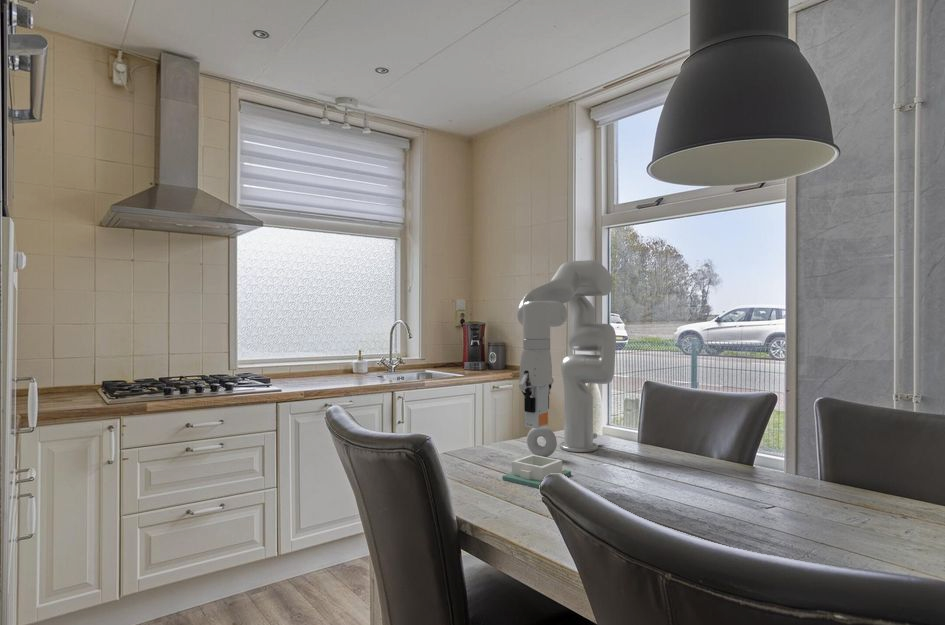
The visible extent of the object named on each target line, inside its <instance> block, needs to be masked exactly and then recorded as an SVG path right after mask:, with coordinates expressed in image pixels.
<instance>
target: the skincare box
mask: <svg viewBox="0 0 945 625" xmlns="http://www.w3.org/2000/svg"><path fill="white" fill-rule="evenodd" d="M528 386H531V384H528ZM529 390H530V392H531V389H529ZM533 398H535V412H534V413H532V412H525V411H524V427H525V428H530V429H532V428H537V429H538V428H540V427H544V426H545V427H547V426H549V409H548V385H538V386H537V387H535V393H534V397H533Z"/></svg>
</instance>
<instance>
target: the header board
mask: <svg viewBox="0 0 945 625" xmlns="http://www.w3.org/2000/svg"><path fill="white" fill-rule="evenodd" d="M550 473H562V474H564V475H565V476H567V477H569V476H571V475H572V470H567V469H564V468H563V459H558V458H553V457H549V456H548V457H542V456H537V455H534V454H530V455H527V456H524V457H521V458H518V459H515V460H512V461H511V472H509V473H507V474H504V475H502V479H503V481H506V480H507V482H510V481H511V483H514V482H515V484H519V485H522V486H527V485H528V487H532V488H535V489H536V488H537V489H540V488H539V485H540V484H541V482H542V481H543V479H544V477H545V476H546V475H548V474H550ZM568 475H569V476H568Z"/></svg>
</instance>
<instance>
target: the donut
mask: <svg viewBox="0 0 945 625" xmlns="http://www.w3.org/2000/svg"><path fill="white" fill-rule="evenodd" d="M539 437H541V438H543V439H544V440H545V445H544V446H541V445H540V444H539V443H538V439H539ZM526 446H527V448H528V449H529V451H530V452H531V453H532V455H537V456H542V457H548V458H549V457H550V456H552V454H554V453H555V451H556V449H557V446H558V441H557V437H556V435H555V433H554V432H553V431H552V429H551V428H549V427H547V426H544V427H540V428H538V429H537V428H530V430H529V431H528V434H527V435H526Z"/></svg>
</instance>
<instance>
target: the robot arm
mask: <svg viewBox="0 0 945 625" xmlns="http://www.w3.org/2000/svg"><path fill="white" fill-rule="evenodd" d="M613 283H614V282H613V277H612V275H611V272H610V271H609V270H608V269H607V268H606V267H605V266H604V265H603V264H602V263H601V262H599V261H597V260H595V259H594V260H593V259H589V260H587V259H586V260H585V259H584V260H570V261H566V262H564V263H562V264H561V265H560V266H559V267H558V269H557V270H556V272H555V273H554V275H553V276H552V278H551V280H549V281H548V282H545V283H543V284H541V285H539V286H537V287H535V288H533V289H531V290H530V291H528V292H527V293H526V294H525V295H524V297H523V298H522V300H521V301H520V303H519V305H518V307H517V311H516V312H517V313H516V316H517V320H518V322H519V324H520V325H522V333H523V334H522V351H521V355H520V361H519V362H520V363H519V375H518V376H519V378H518V379H519V383H518V388H519V389H520V391H521V393H522V396H523V398H524V399H523V400H524V413H525V412H532V413H534V412H535V398H533V397H534V393H535V387H537V386H538V385H548V410H549V409H550V395H551V389H552V385H553V383H554V378H553V366H552V363H553V362H552V355H551V328H554V327H555V328H556V327H561V326H562V325H563V324H564V323H565V322H566V321H567V317H568V311H567V310H568V309H567V307H566V305H565V304H566V303H568V307H569V309H570V310H569V311H570V318H569V325H568V338H567V339H568V341H567V342H568V346H569V348H570V349H571V350H572V351H573V350H574V351H577V352H591V353H593V352H594V353H595V352H596V353H597V352H598V353H600V354H585V353H584V354H581V353H580V354H578V353H577V354H576V353H575V354H568V355H566V356H565V357H563V358H562V359H561V360H562V361H561V363H560V369H561V370H560V372H561V376H562V382H563V416H564V417H563V426H564V427H563V428H564V431H563V437H564V438H563V439H564V441H561V442H560V443H559V448H560V449H561V450H563V451H567V452H573V453H574V452H575V453H590V452H594V451H597V450H598V448H599V447H598V444H597V443H595V442H594V439H597V438H598V434H597V433H596V432H594V414H593V413H594V411H593V410H594V409H593V408H594V405H593V404H594V400H593V399H594V398H593V394H592V393H593V392H592V391H591V389H589V387H588V385H587V384H595V385H597V384H599V385H608V384H610V383H611V382H612V381H613V380H614V375H615V366H616V363H615V362H616V353H617V352H616V350H617V348H616V347H617V334H616V330H615V328H614V327H613V326H612V325H611V324H608V323H596V309H595V307H594V306H593V304H592V303H591V302H590V300H589V299H588V298H587V297H603V296H607V295H609V294H610V293H611V292H612V289H613V286H614V284H613ZM528 384H531V386H528ZM529 389H531V392H530V390H529Z"/></svg>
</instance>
